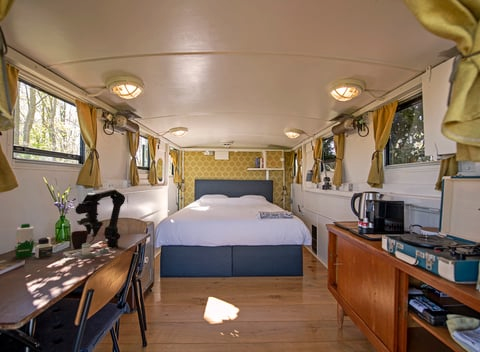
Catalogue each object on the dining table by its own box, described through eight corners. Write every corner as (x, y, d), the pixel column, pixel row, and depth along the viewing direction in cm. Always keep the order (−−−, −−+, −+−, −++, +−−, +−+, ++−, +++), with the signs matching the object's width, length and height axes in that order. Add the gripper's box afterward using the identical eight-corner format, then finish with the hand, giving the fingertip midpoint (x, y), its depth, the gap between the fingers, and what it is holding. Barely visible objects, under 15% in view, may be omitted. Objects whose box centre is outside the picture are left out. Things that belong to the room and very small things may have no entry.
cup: (72, 247, 172) (73, 231, 173) (94, 245, 178) (95, 229, 178) (68, 251, 163) (69, 233, 164) (92, 249, 169) (92, 232, 169)
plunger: (105, 248, 161) (105, 244, 161) (108, 249, 158) (108, 245, 159) (100, 250, 158) (100, 245, 158) (102, 251, 156) (102, 246, 156)
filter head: (105, 251, 163) (105, 247, 163) (112, 254, 158) (112, 249, 158) (75, 258, 148) (75, 253, 149) (82, 261, 143) (82, 256, 143)
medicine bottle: (38, 259, 145) (39, 239, 145) (35, 257, 149) (36, 238, 150) (52, 256, 151) (53, 237, 151) (49, 254, 155) (50, 236, 155)
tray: (80, 252, 160) (80, 249, 160) (87, 255, 155) (87, 251, 155) (63, 256, 152) (63, 252, 152) (69, 259, 146) (69, 255, 146)
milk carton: (33, 253, 157) (34, 223, 158) (33, 256, 151) (34, 224, 151) (14, 255, 152) (16, 224, 152) (14, 259, 145) (15, 226, 146)
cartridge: (88, 254, 152) (88, 242, 153) (91, 256, 150) (92, 243, 150) (80, 256, 148) (80, 243, 149) (83, 258, 146) (83, 244, 146)
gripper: (73, 212, 156) (72, 235, 156) (83, 214, 145) (83, 240, 144) (91, 210, 165) (91, 232, 165) (103, 213, 153) (102, 237, 153)
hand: (91, 235), depth 156 cm, fingers open, 9 cm apart
